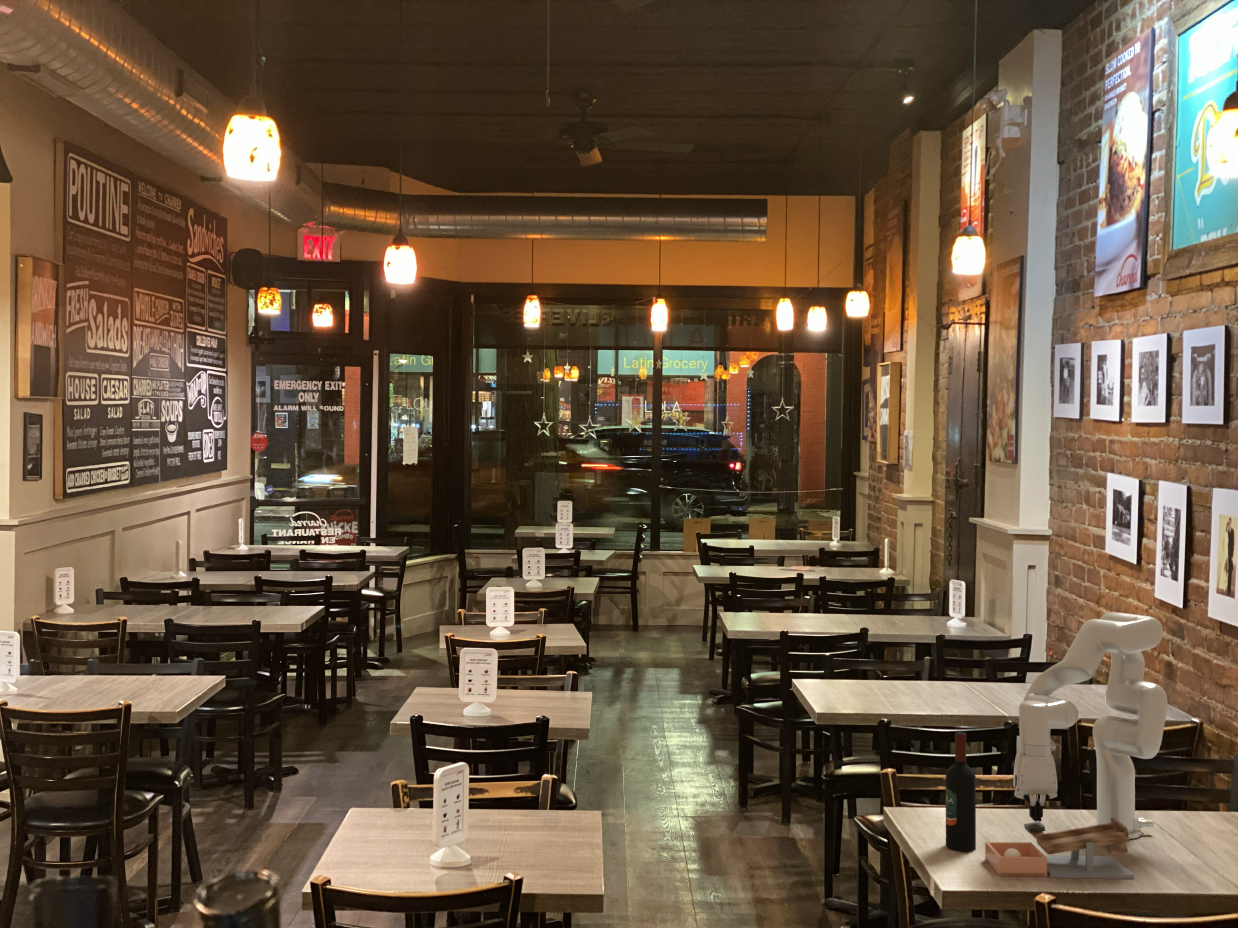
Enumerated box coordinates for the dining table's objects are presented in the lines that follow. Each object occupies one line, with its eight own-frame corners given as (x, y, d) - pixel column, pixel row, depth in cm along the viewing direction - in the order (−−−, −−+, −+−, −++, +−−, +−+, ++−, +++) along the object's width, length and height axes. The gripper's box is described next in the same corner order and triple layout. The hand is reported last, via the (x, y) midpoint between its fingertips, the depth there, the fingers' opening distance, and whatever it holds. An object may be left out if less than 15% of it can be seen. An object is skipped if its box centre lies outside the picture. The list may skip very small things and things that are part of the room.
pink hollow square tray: (1031, 859, 284) (1031, 842, 284) (1047, 876, 273) (1047, 857, 273) (985, 859, 285) (985, 841, 285) (999, 875, 273) (999, 857, 273)
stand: (1112, 859, 284) (1112, 828, 284) (1134, 878, 271) (1134, 845, 271) (1033, 858, 285) (1032, 827, 285) (1051, 877, 272) (1050, 844, 272)
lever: (1103, 830, 291) (1099, 806, 291) (1131, 853, 274) (1126, 827, 274) (1027, 843, 291) (1023, 819, 291) (1050, 866, 274) (1045, 840, 274)
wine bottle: (971, 853, 289) (971, 737, 289) (942, 848, 293) (942, 734, 293) (979, 845, 295) (978, 732, 295) (950, 840, 299) (950, 728, 299)
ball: (1021, 853, 281) (1009, 842, 281) (1026, 859, 277) (1014, 847, 277) (1010, 864, 281) (998, 853, 281) (1015, 870, 277) (1003, 859, 277)
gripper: (1058, 745, 293) (1060, 814, 293) (1001, 745, 294) (1002, 815, 294) (1069, 752, 286) (1070, 824, 286) (1010, 753, 286) (1011, 824, 286)
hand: (1036, 819), depth 290 cm, fingers closed
